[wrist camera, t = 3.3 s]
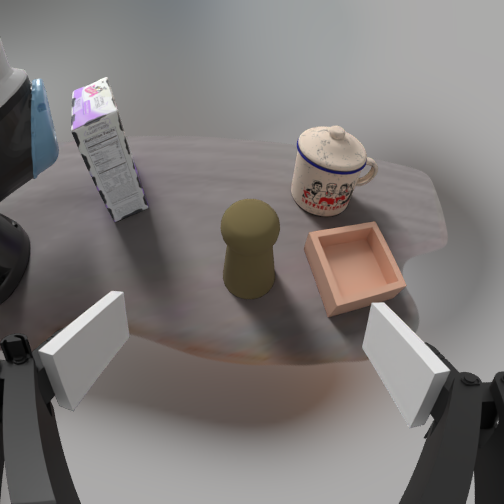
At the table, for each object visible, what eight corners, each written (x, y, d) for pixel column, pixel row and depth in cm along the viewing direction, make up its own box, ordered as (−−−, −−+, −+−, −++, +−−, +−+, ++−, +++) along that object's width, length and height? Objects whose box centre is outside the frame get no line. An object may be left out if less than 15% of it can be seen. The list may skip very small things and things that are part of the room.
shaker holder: (328, 317, 30) (336, 306, 27) (303, 248, 35) (308, 232, 32) (393, 297, 32) (406, 285, 29) (366, 237, 36) (375, 221, 33)
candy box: (102, 169, 43) (71, 90, 29) (132, 156, 45) (108, 74, 31) (113, 224, 37) (67, 130, 23) (150, 207, 38) (118, 108, 24)
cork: (283, 265, 34) (297, 203, 24) (260, 308, 31) (267, 256, 22) (238, 245, 35) (236, 180, 26) (213, 284, 32) (200, 226, 23)
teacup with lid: (294, 219, 38) (308, 150, 28) (285, 173, 42) (294, 108, 32) (374, 219, 38) (405, 158, 28) (357, 175, 43) (377, 116, 33)
